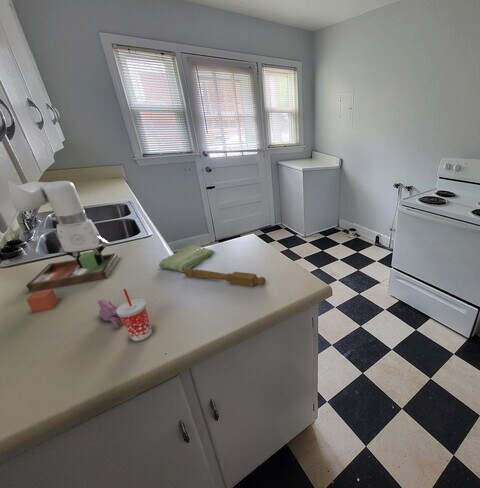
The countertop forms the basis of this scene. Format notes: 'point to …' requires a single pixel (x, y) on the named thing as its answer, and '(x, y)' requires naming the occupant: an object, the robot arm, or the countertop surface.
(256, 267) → the countertop surface
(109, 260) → the tray
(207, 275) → the tap handle
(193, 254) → the washcloth
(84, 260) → the green block
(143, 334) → the beverage cup
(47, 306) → the terracotta block
